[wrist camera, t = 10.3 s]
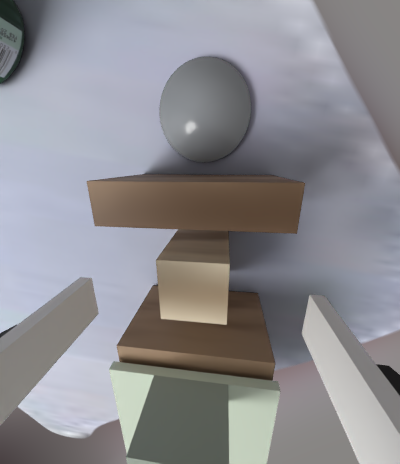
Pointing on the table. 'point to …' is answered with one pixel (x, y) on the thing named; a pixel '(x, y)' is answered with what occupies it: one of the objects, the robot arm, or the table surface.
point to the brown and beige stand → (200, 218)
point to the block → (195, 276)
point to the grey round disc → (205, 109)
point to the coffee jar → (10, 38)
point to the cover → (193, 415)
